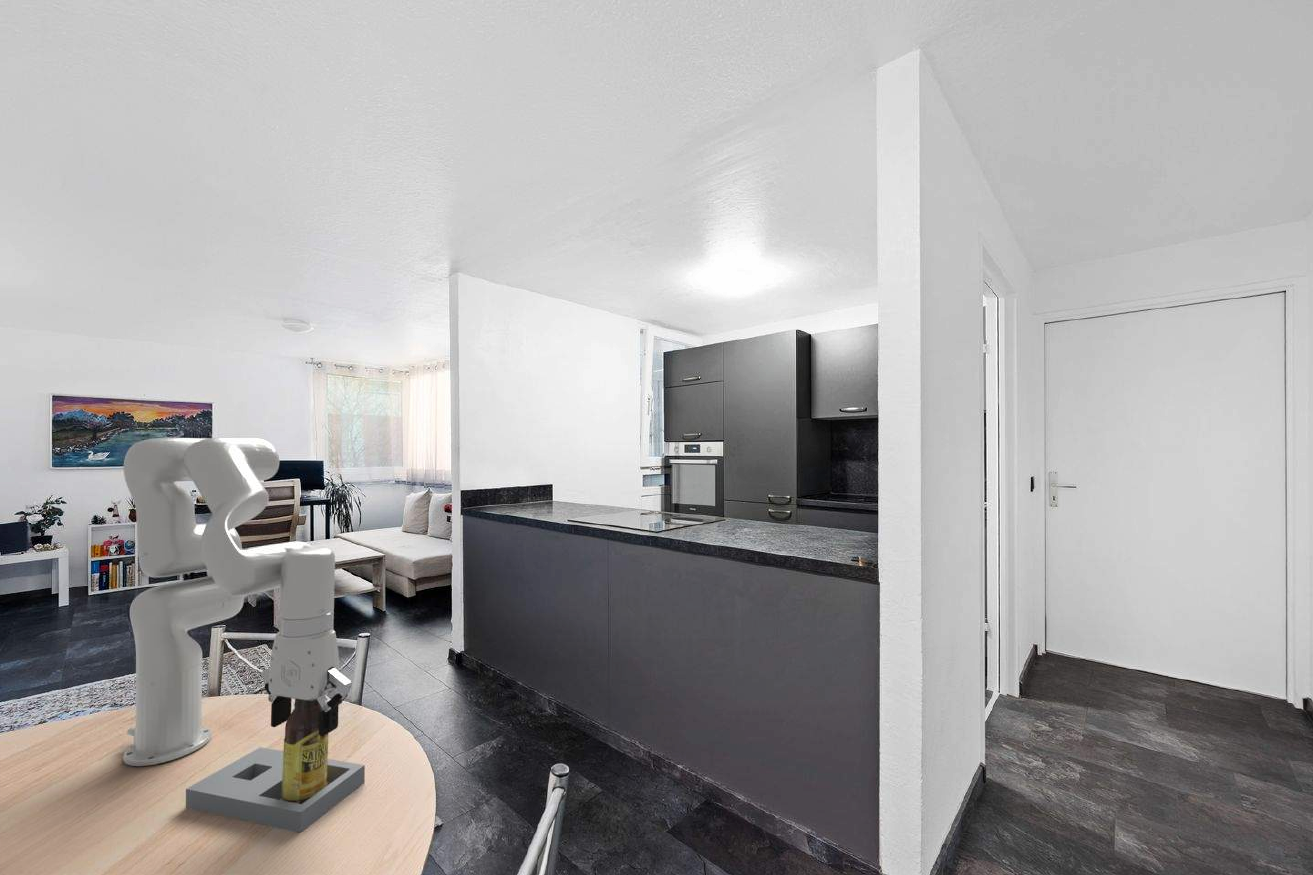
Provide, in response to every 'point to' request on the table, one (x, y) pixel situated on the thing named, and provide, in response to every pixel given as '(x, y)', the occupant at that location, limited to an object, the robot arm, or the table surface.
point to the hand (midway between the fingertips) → (304, 727)
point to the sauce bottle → (304, 753)
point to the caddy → (270, 791)
